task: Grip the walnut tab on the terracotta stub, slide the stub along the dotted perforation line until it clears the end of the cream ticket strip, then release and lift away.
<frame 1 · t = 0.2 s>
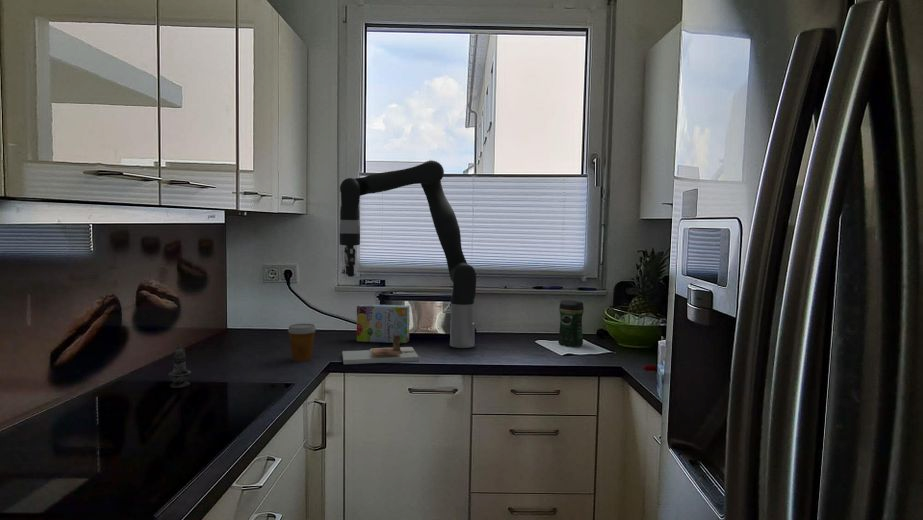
hand: (349, 275, 195), 29 cm above the worktop, fingers open, 8 cm apart
disposable coffee cup: (301, 360, 183), on the worktop
coffee jar: (570, 345, 214), on the worktop
stub: (386, 343, 184), point 6 cm above the worktop, slide at 0.0 cm
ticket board: (379, 358, 187), on the worktop
snack box: (382, 341, 215), on the worktop
dark grey tiered piece: (179, 385, 151), on the worktop
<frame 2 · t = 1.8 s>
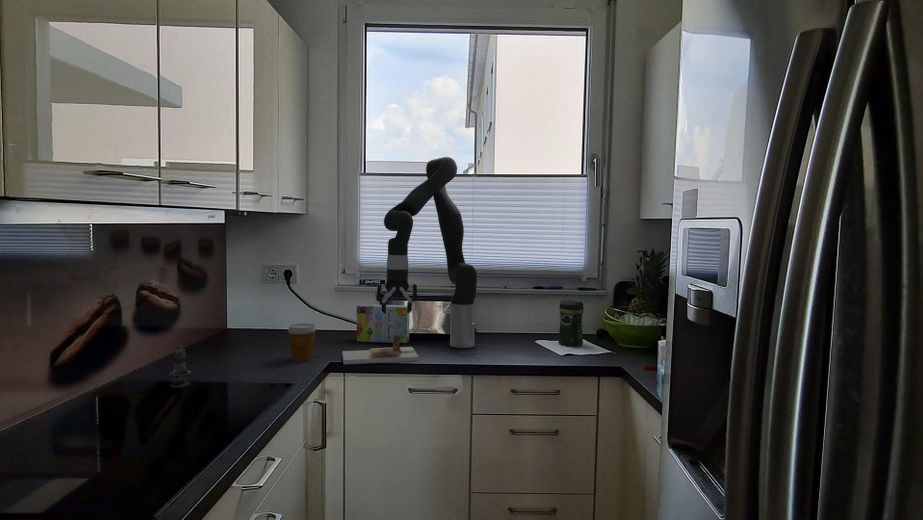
hand: (396, 313, 184), 17 cm above the worktop, fingers open, 8 cm apart
nothing on the worktop moved.
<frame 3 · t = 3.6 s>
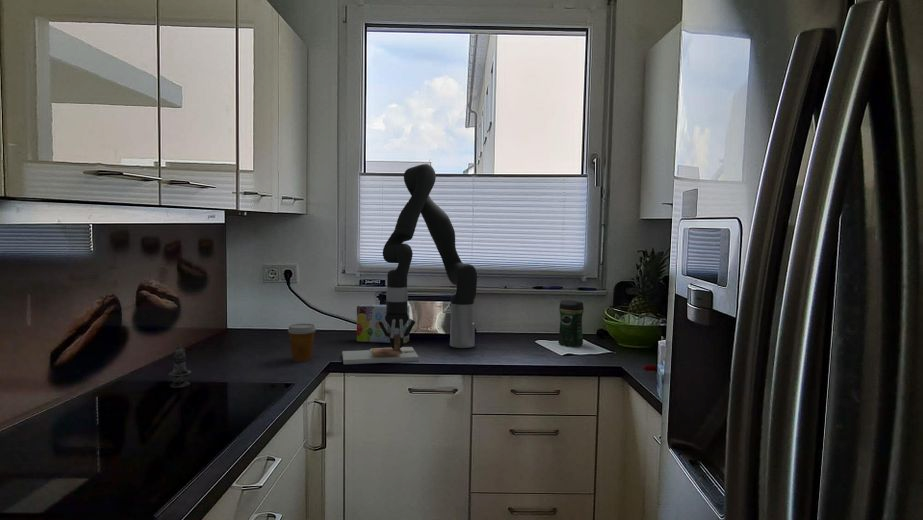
hand: (396, 347, 185), 4 cm above the worktop, fingers closed on stub, 2 cm apart
stub: (386, 343, 184), point 6 cm above the worktop, slide at 0.0 cm, touching gripper
everything else where it was.
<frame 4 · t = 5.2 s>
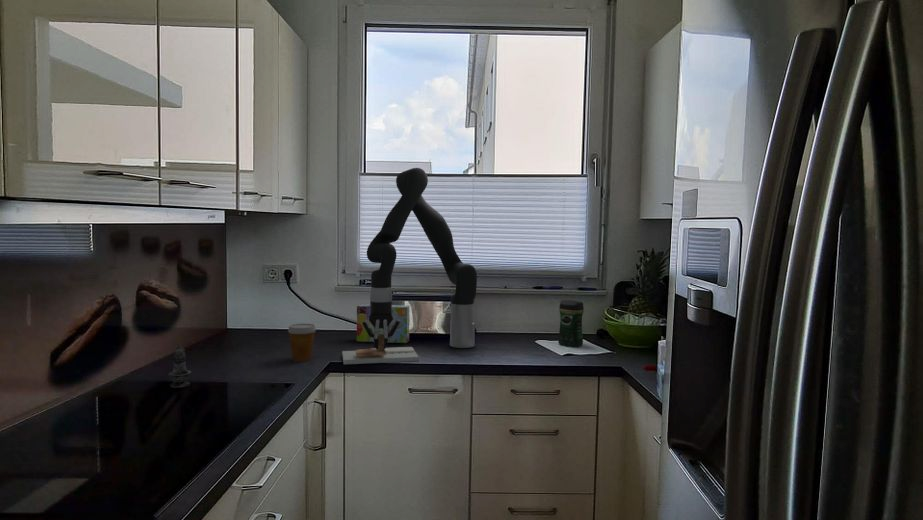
hand: (380, 348, 183), 4 cm above the worktop, fingers closed on stub, 2 cm apart
stub: (370, 344, 182), point 6 cm above the worktop, slide at 5.6 cm, touching gripper
everything else where it was.
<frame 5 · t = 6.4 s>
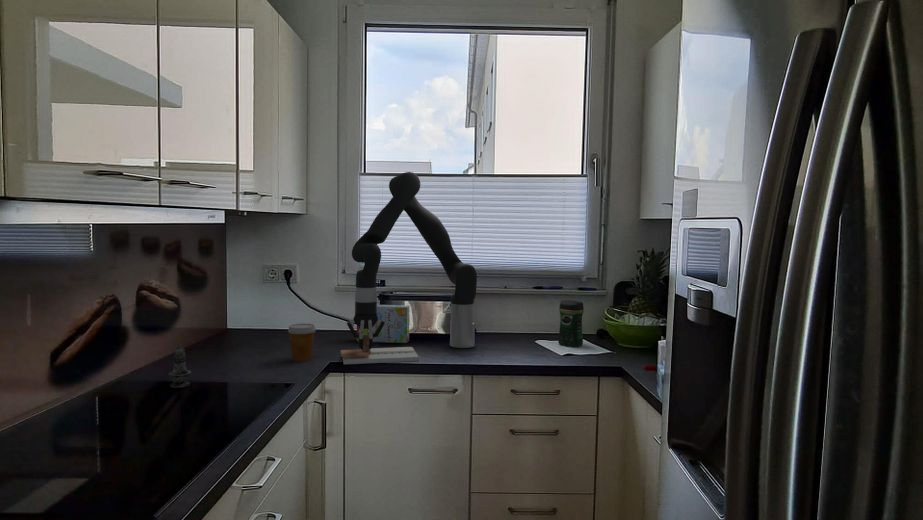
hand: (365, 348, 182), 4 cm above the worktop, fingers closed on stub, 2 cm apart
stub: (355, 345, 181), point 6 cm above the worktop, slide at 10.8 cm, touching gripper
everything else where it was.
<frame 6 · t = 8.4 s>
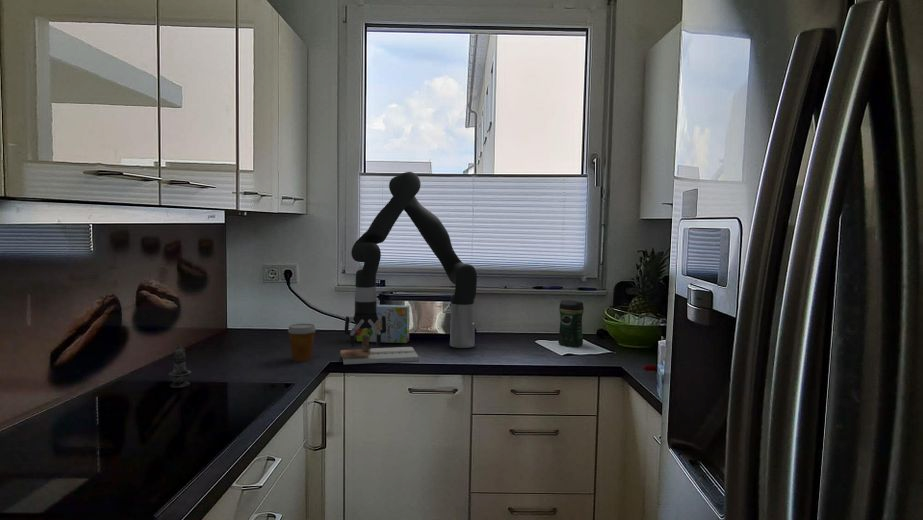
hand: (365, 345, 182), 5 cm above the worktop, fingers open, 8 cm apart
stub: (355, 345, 181), point 6 cm above the worktop, slide at 10.9 cm
everything else where it was.
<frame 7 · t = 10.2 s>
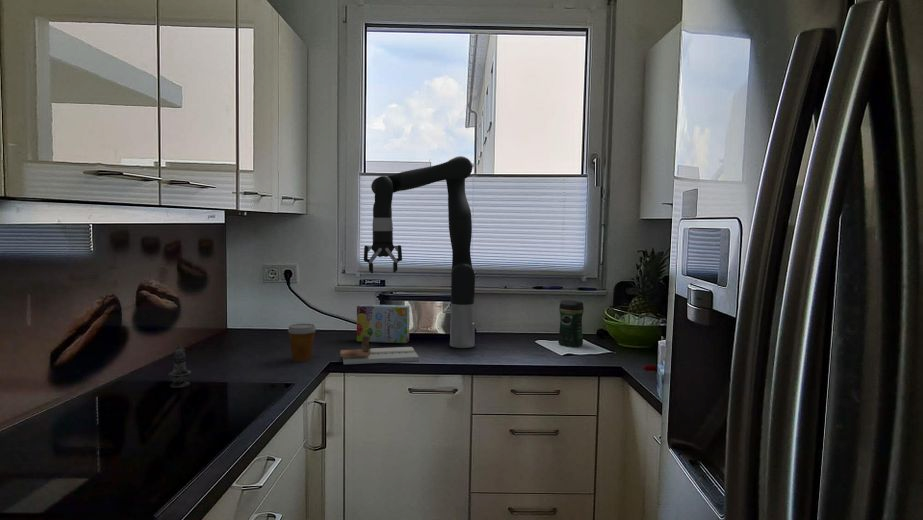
hand: (383, 272, 197), 30 cm above the worktop, fingers open, 8 cm apart
nothing on the worktop moved.
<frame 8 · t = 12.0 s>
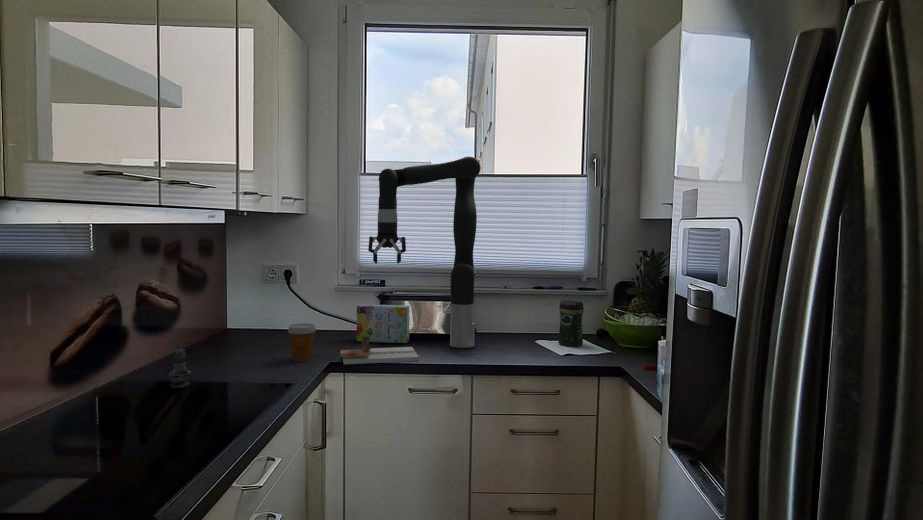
hand: (387, 263, 201), 33 cm above the worktop, fingers open, 8 cm apart
nothing on the worktop moved.
at the end: stub slide at 10.9 cm; the gripper is holding nothing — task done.
